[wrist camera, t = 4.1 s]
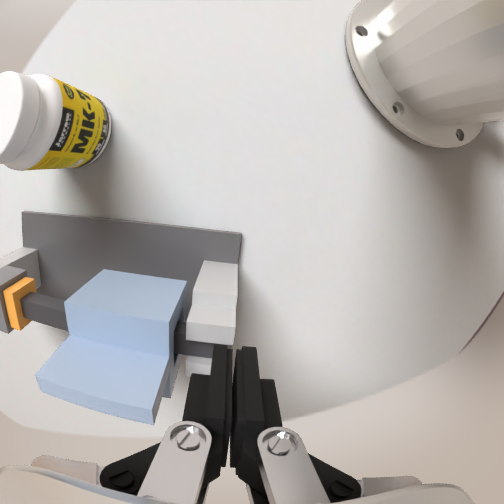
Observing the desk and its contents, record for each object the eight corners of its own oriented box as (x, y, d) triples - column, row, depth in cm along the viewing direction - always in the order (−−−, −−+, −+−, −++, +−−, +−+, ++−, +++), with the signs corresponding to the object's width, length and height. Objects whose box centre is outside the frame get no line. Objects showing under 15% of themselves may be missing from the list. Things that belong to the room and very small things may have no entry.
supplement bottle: (114, 162, 15) (26, 162, 7) (55, 173, 15) (-36, 184, 7) (114, 89, 14) (36, 45, 6) (56, 106, 14) (-30, 85, 6)
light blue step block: (187, 280, 14) (147, 373, 7) (184, 346, 15) (157, 450, 8) (103, 268, 14) (23, 338, 7) (108, 333, 15) (52, 418, 8)
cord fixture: (241, 233, 17) (243, 273, 10) (227, 347, 19) (224, 421, 12) (24, 211, 16) (-41, 231, 9) (34, 310, 18) (-15, 353, 11)
